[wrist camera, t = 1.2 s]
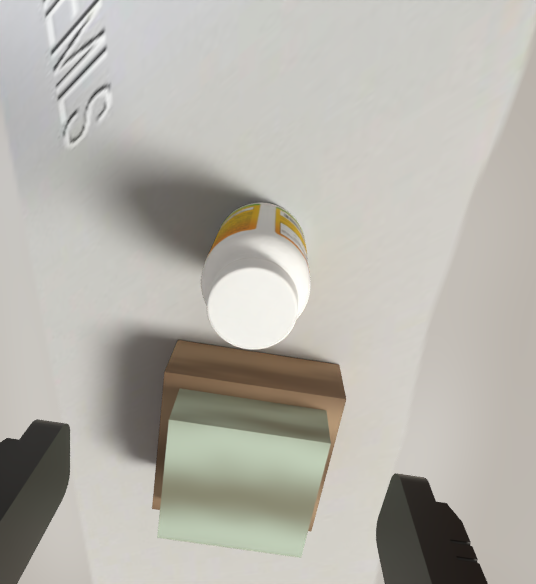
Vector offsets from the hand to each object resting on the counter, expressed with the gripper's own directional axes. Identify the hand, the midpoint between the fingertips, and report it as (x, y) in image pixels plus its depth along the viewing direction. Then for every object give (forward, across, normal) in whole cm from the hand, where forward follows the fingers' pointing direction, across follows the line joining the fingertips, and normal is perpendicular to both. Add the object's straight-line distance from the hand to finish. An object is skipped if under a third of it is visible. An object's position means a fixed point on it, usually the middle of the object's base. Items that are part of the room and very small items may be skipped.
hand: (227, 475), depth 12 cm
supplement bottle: (+20, 0, 0) cm, 20 cm away
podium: (+19, -1, +13) cm, 23 cm away
